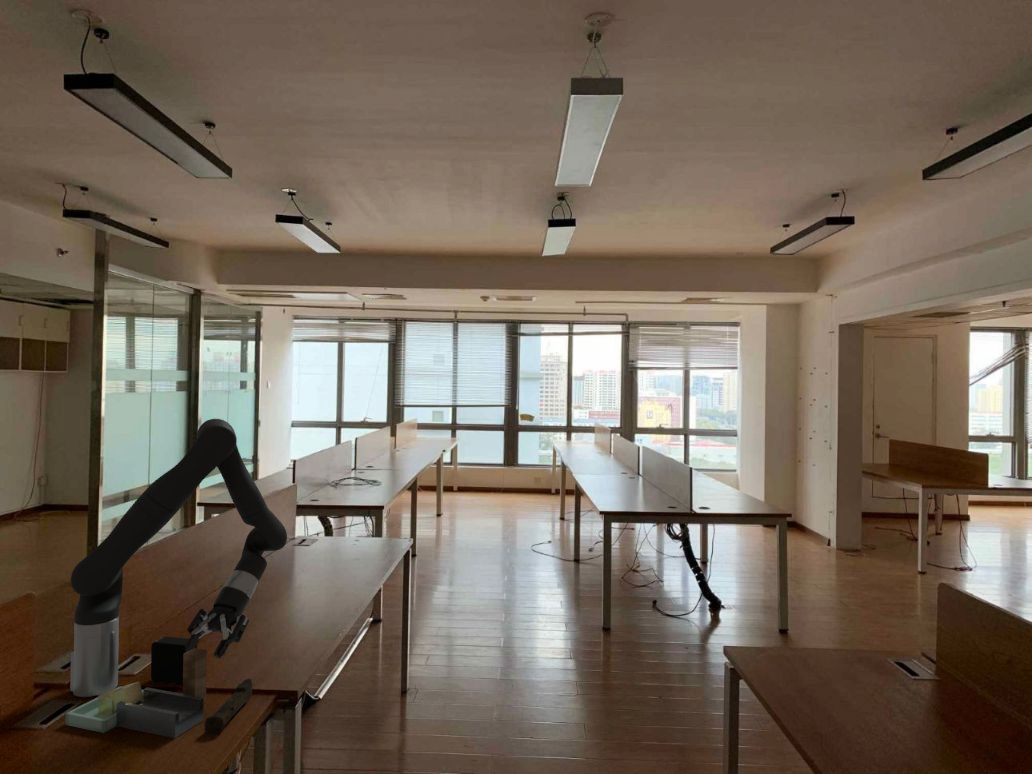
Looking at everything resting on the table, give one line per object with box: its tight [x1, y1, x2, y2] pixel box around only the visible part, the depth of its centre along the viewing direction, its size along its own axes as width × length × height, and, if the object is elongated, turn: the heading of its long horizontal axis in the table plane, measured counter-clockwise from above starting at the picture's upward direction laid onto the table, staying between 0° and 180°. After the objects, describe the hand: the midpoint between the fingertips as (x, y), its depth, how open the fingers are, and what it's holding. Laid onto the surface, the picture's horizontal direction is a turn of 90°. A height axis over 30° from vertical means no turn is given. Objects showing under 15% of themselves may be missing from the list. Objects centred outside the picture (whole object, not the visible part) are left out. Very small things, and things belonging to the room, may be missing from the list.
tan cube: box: [97, 688, 118, 716], centre depth 147 cm, size 4×4×4 cm
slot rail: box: [116, 687, 205, 739], centre depth 143 cm, size 16×8×5 cm, turn 73°
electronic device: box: [150, 636, 198, 685], centre depth 165 cm, size 4×10×10 cm, turn 80°
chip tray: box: [64, 685, 143, 734], centre depth 147 cm, size 11×14×2 cm
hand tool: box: [204, 678, 253, 735], centre depth 149 cm, size 19×4×5 cm, turn 176°
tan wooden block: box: [180, 647, 208, 702], centre depth 153 cm, size 4×5×12 cm
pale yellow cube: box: [111, 681, 144, 710], centre depth 146 cm, size 4×4×4 cm
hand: (202, 654), depth 155 cm, fingers open, 8 cm apart
